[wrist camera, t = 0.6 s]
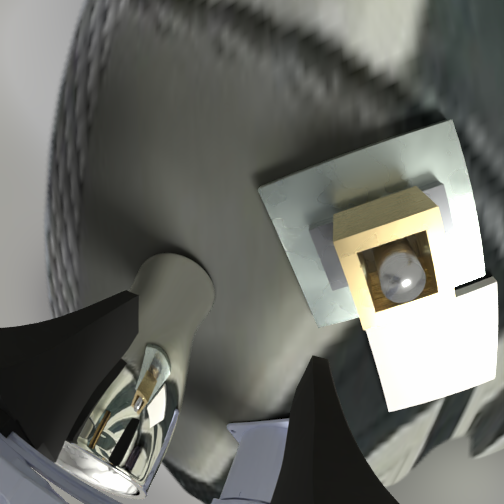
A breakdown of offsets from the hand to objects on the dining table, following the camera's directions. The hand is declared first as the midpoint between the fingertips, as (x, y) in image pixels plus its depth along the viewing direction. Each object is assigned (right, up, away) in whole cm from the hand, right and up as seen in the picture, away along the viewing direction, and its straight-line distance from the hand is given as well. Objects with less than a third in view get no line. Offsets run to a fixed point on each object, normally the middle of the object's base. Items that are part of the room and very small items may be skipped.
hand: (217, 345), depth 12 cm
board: (+16, -4, +8) cm, 18 cm away
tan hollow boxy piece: (+9, +4, +4) cm, 11 cm away
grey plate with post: (+9, +5, +6) cm, 12 cm away
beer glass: (-4, +1, +11) cm, 12 cm away
